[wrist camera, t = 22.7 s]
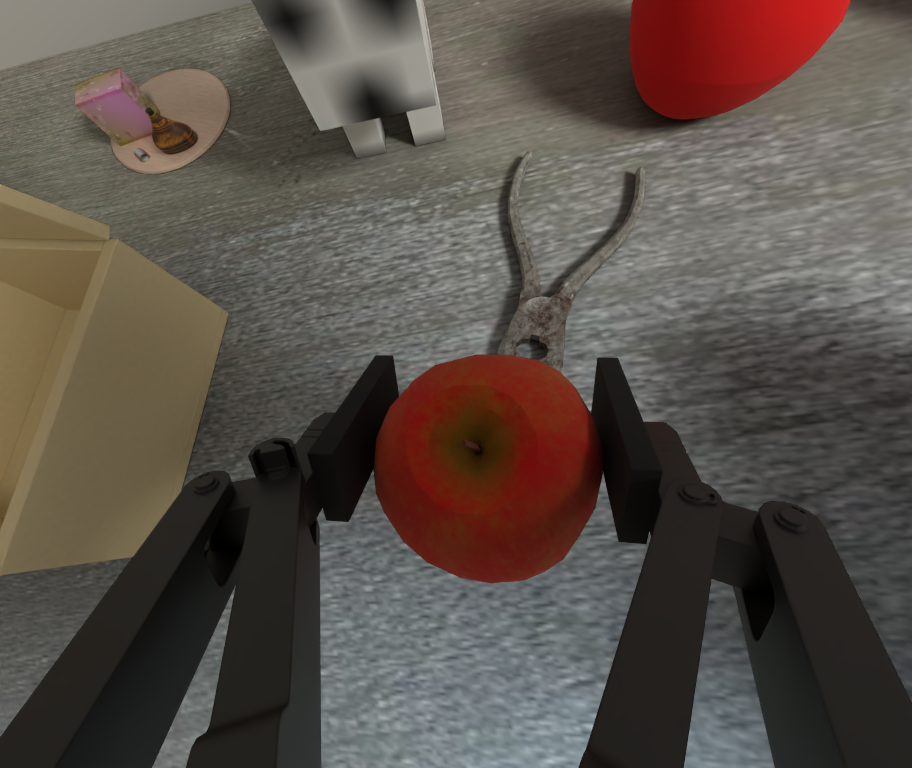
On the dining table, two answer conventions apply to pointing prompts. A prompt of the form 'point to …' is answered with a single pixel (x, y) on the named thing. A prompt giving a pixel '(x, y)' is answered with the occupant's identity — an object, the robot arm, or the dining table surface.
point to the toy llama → (359, 65)
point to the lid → (44, 219)
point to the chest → (94, 397)
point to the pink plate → (156, 116)
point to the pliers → (549, 314)
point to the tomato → (722, 49)
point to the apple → (489, 467)
